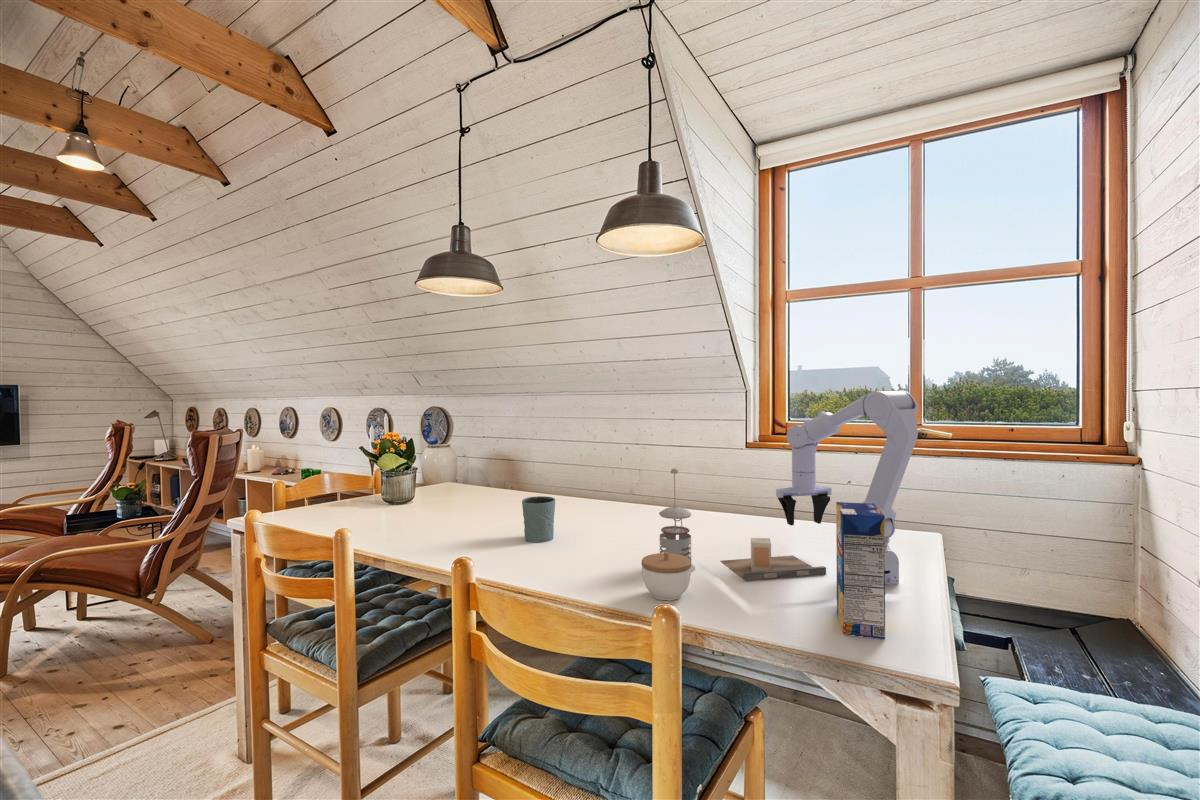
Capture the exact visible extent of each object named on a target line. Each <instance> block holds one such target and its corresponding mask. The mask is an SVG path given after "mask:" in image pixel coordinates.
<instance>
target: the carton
mask: <svg viewBox="0 0 1200 800" xmlns="http://www.w3.org/2000/svg"><path fill="white" fill-rule="evenodd" d="M771 557H772V542H771V539H770V538H768V537H764V538H763V537H750V558H751V569H752V572H755V571H768V570H771Z"/></svg>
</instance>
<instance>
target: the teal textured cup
mask: <svg viewBox="0 0 1200 800" xmlns="http://www.w3.org/2000/svg"><path fill="white" fill-rule="evenodd" d="M521 505H522V506H521V507H522V516H523V524H524V525H523V526H524V529H523V530H524V531H523V532H524V539H525V541H526V542H529V543H535V544H537V543H538V544H539V543H547V542H551V541H552V540H554V532H555V531H554V530H555V529H554V528H555V525H554V523H555V512H556V510H555V509H556V498H555V497H552V496H542V495H541V496H540V495H539V496H538V495H537V496H528V497H526V498H523V499H522V500H521Z"/></svg>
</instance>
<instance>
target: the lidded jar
mask: <svg viewBox="0 0 1200 800" xmlns="http://www.w3.org/2000/svg"><path fill="white" fill-rule="evenodd" d="M691 564H692V559H691V560H690V559H689V558H688V557H686V556H683V555H679V554H672V553H668V552H664V553H660V552H659V553H651V554H647V555H646V556H644V557H643V558H642V559H641V572H642V579H643V582H644V585H645V587H646V589H647V591H648V592H649V593H651V595H652V597H653V598H654V599H657V600H659V601H663V600H668V601H667V602H669V601H671V600H672V601H676V600H675V599H677V600H679V599H681V597H682V595H683V594H684V593H685V592H686V591H687V590H688V587H689V586H690V582H691V576H692V572H691ZM678 598H679V599H678ZM672 601H671V602H672Z"/></svg>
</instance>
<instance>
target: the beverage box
mask: <svg viewBox="0 0 1200 800" xmlns="http://www.w3.org/2000/svg"><path fill="white" fill-rule="evenodd" d="M835 504H836V505H835V507H836V508H835V509H836V513H835V517H836V521H835V522H836V523H835V524H836V525H835V527H836V530H835V532H836V539H835V540H836V614H837V617H838V621H839V624H840V628H841V632H842V635H843V634H847V635H846V636H849V635H855V636H854V637H858V636H863V637H862V638H867V637H869V638H868V639H876V638H877V639H876V640H886V585H885V516H884V515H883V514H882V512H881V511H880V510H879V509H878V508H877V506H876V505H875V504H870V503H863V502H843V501H836V502H835ZM870 637H871V638H870Z"/></svg>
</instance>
